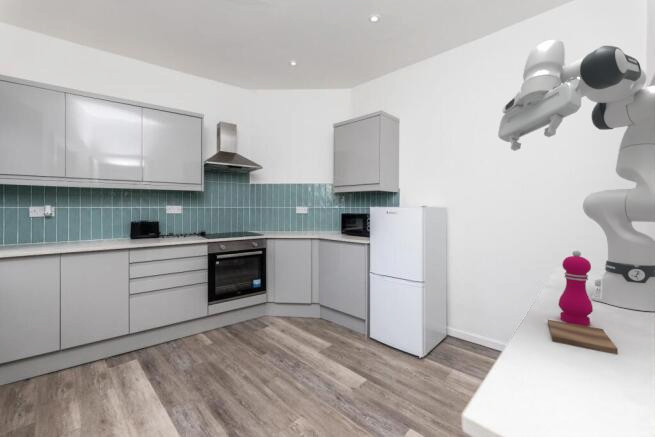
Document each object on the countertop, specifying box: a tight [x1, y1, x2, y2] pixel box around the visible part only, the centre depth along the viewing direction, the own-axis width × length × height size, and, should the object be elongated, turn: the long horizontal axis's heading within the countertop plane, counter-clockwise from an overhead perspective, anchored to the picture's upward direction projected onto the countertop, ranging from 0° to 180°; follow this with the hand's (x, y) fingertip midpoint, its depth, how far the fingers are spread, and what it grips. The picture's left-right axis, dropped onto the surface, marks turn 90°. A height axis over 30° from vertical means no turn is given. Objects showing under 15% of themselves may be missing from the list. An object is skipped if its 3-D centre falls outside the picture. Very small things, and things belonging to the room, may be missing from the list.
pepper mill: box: [558, 250, 594, 327], centre depth 80 cm, size 7×7×20 cm
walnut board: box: [547, 319, 618, 355], centre depth 70 cm, size 13×11×1 cm
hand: (531, 142), depth 74 cm, fingers open, 8 cm apart
